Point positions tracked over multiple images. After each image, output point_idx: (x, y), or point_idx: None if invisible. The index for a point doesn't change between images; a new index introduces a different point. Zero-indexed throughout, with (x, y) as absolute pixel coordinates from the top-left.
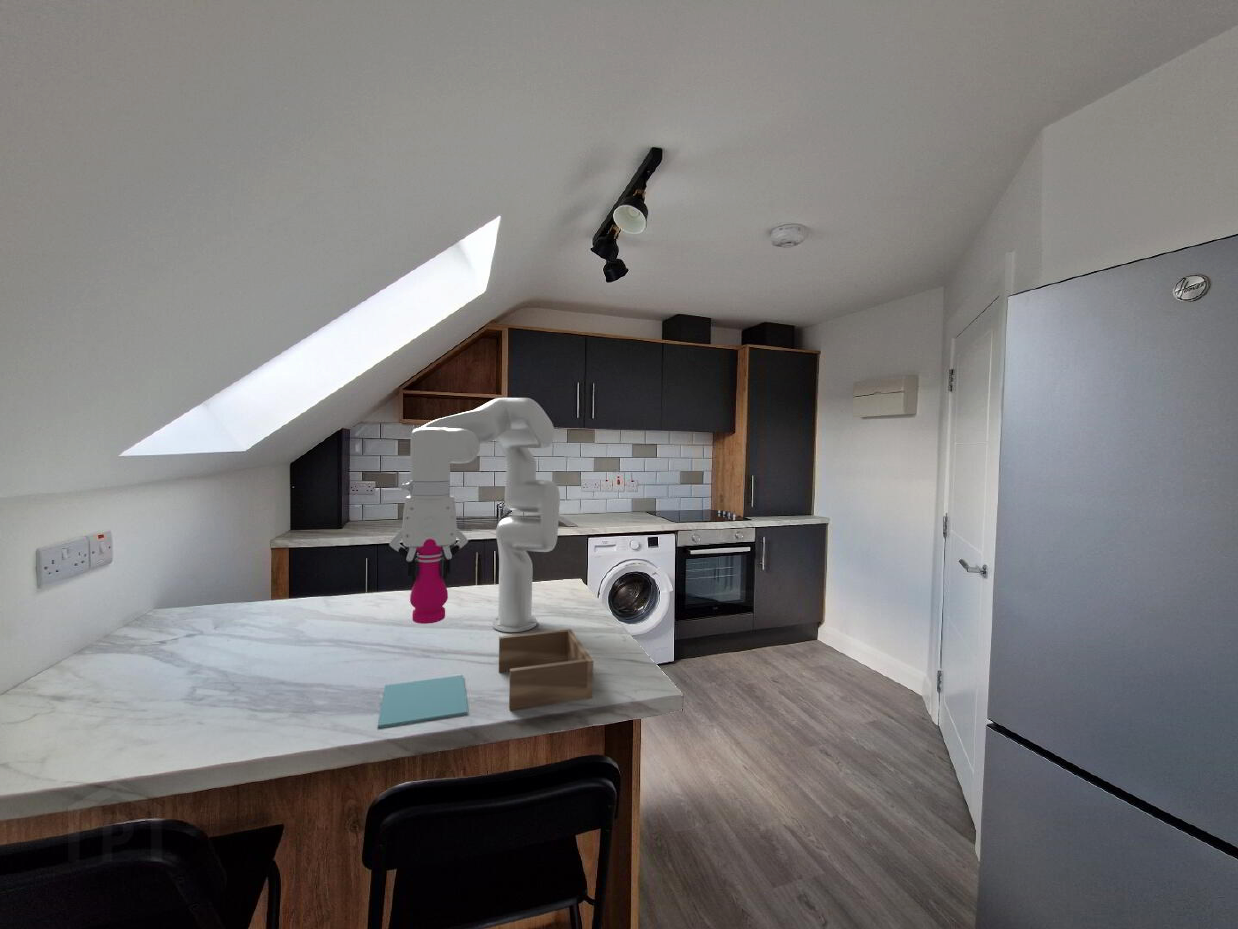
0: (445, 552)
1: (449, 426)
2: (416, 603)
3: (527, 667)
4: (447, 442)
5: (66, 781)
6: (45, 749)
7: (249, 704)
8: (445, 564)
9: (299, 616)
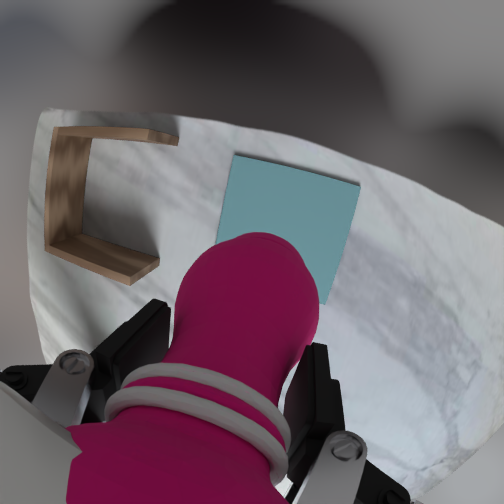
0: (75, 392)
1: None
2: (307, 269)
3: (122, 134)
4: None
5: None
6: None
7: (454, 334)
8: (120, 338)
9: None
